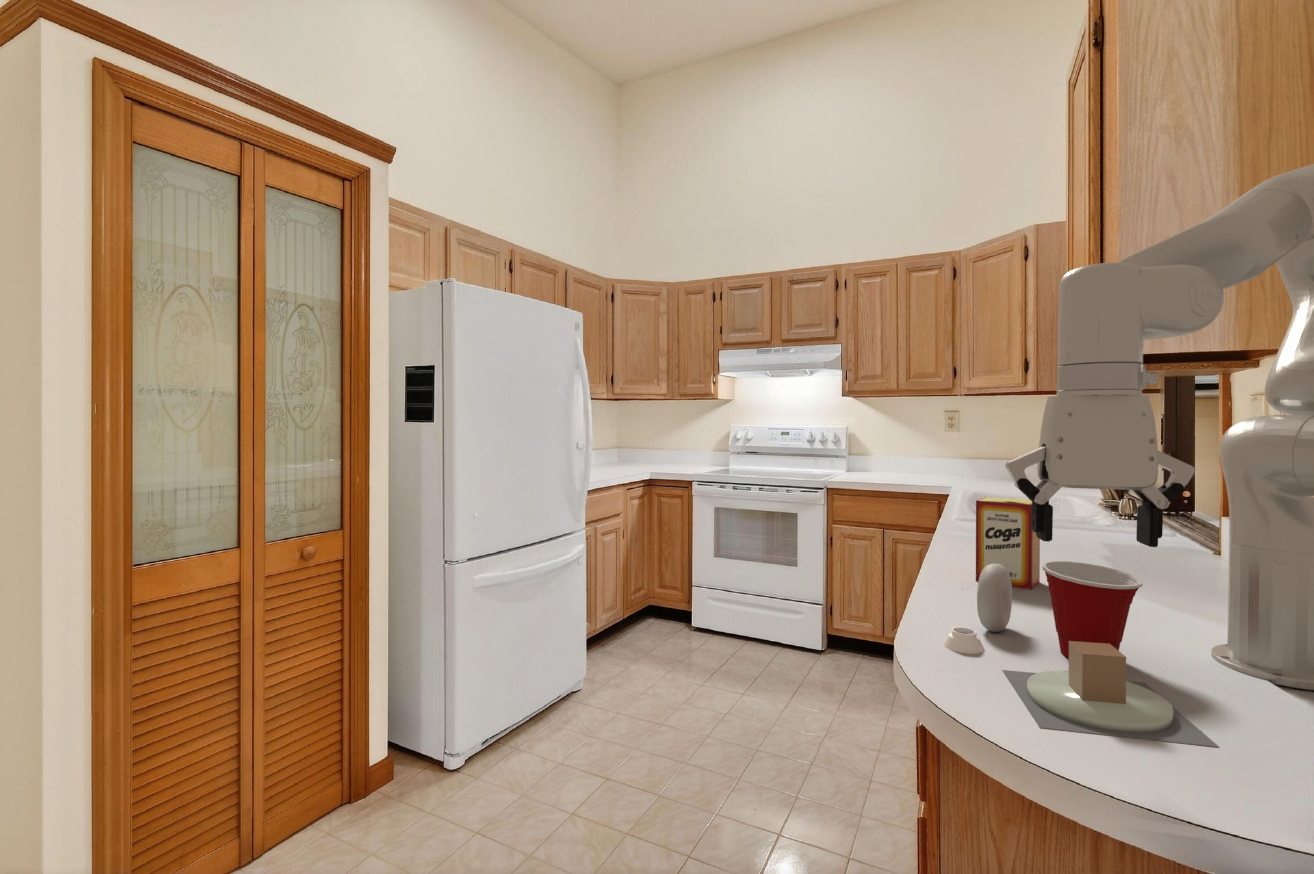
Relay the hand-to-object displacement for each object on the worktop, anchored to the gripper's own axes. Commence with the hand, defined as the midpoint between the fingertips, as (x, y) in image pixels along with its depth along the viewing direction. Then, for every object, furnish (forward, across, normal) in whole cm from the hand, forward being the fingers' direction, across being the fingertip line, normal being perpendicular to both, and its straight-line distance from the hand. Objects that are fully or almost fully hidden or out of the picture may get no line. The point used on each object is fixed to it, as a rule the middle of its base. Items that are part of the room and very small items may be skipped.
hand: (1094, 542), depth 68 cm
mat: (+18, -1, 0) cm, 18 cm away
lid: (+18, -1, 0) cm, 18 cm away
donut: (+18, +4, -26) cm, 32 cm away
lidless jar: (+19, +10, -16) cm, 26 cm away
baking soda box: (+18, -5, -56) cm, 59 cm away
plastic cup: (+18, -5, -16) cm, 24 cm away
